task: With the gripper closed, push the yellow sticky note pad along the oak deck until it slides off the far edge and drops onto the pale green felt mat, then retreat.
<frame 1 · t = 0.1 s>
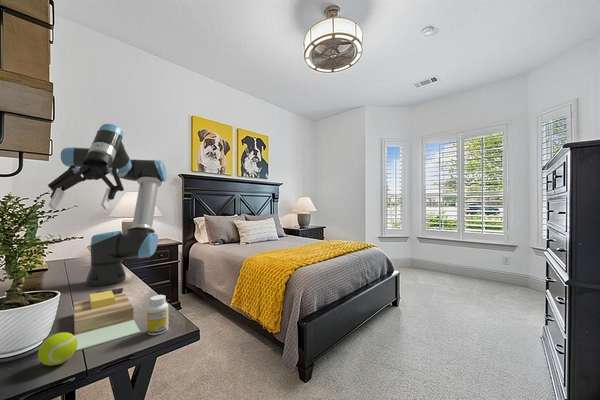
hand: (78, 207, 79), 36 cm above the table, tool tilted 35°, fingers open, 13 cm apart
chocolate bar: (107, 299, 101), on the table
deck: (102, 317, 84), on the table
tennis ball: (58, 363, 60), on the table
mat: (107, 334, 73), on the table
yellow sticky note pad: (102, 302, 86), point 4 cm above the table, touching deck
supplement bottle: (158, 331, 74), on the table
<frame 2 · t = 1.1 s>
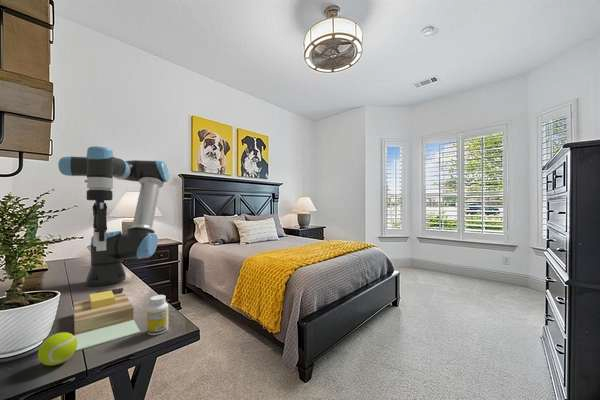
hand: (99, 248, 94), 21 cm above the table, tool pointing down, fingers open, 12 cm apart
nothing on the table moved.
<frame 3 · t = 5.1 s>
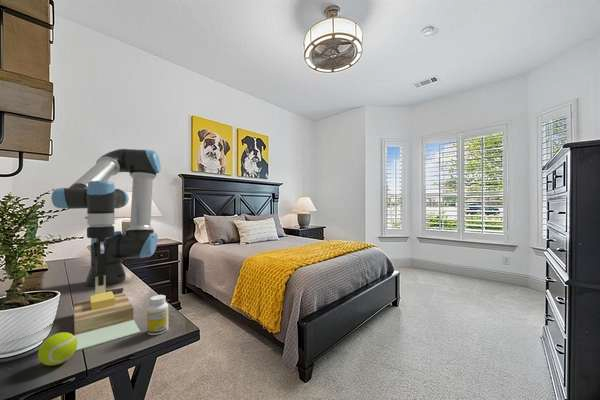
hand: (100, 294, 89), 6 cm above the table, tool pointing down, fingers closed
yellow sticky note pad: (102, 303, 85), point 4 cm above the table
everything else where it was.
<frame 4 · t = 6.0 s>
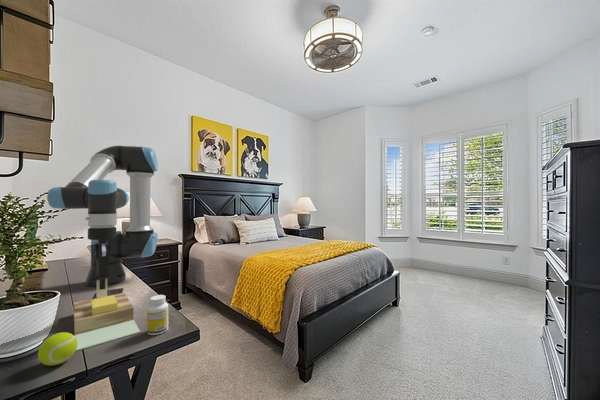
hand: (101, 298, 85), 6 cm above the table, tool pointing down, fingers closed
yellow sticky note pad: (103, 308, 81), point 4 cm above the table, touching gripper
everything else where it was.
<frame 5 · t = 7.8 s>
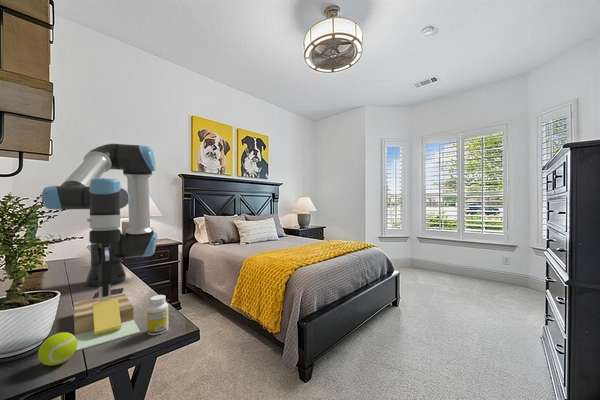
hand: (104, 306, 79), 6 cm above the table, tool pointing down, fingers closed
yellow sticky note pad: (106, 318, 76), point 3 cm above the table, tilted 38°, touching gripper, mat
everything else where it was.
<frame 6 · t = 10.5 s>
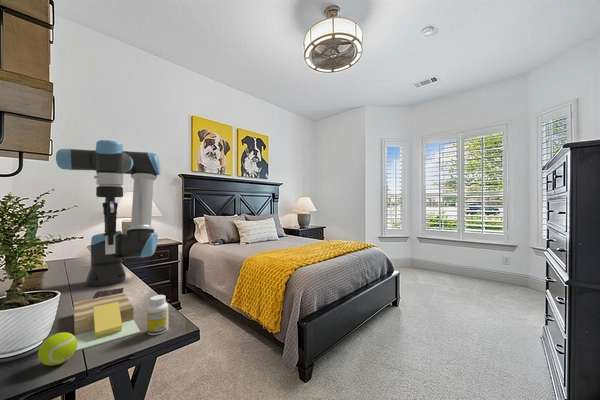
hand: (110, 253, 90), 19 cm above the table, tool pointing down, fingers closed
yellow sticky note pad: (107, 321, 75), point 3 cm above the table, tilted 30°, touching deck, mat
everything else where it was.
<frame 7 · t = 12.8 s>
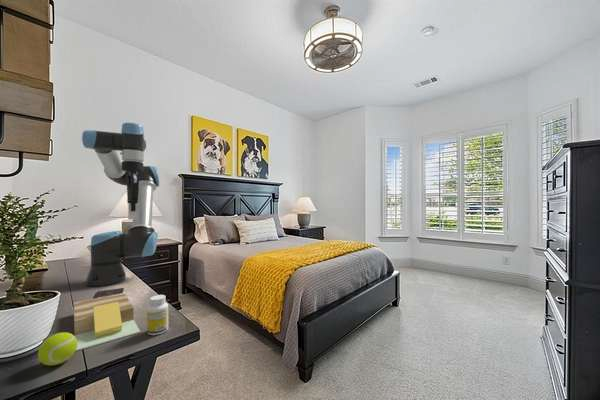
hand: (132, 219, 105), 30 cm above the table, tool pointing down, fingers closed
nothing on the table moved.
at the end: yellow sticky note pad inside the target area (3.4 cm from its centre), point 2.6 cm above the table; yellow sticky note pad point 2.6 cm above the table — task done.
